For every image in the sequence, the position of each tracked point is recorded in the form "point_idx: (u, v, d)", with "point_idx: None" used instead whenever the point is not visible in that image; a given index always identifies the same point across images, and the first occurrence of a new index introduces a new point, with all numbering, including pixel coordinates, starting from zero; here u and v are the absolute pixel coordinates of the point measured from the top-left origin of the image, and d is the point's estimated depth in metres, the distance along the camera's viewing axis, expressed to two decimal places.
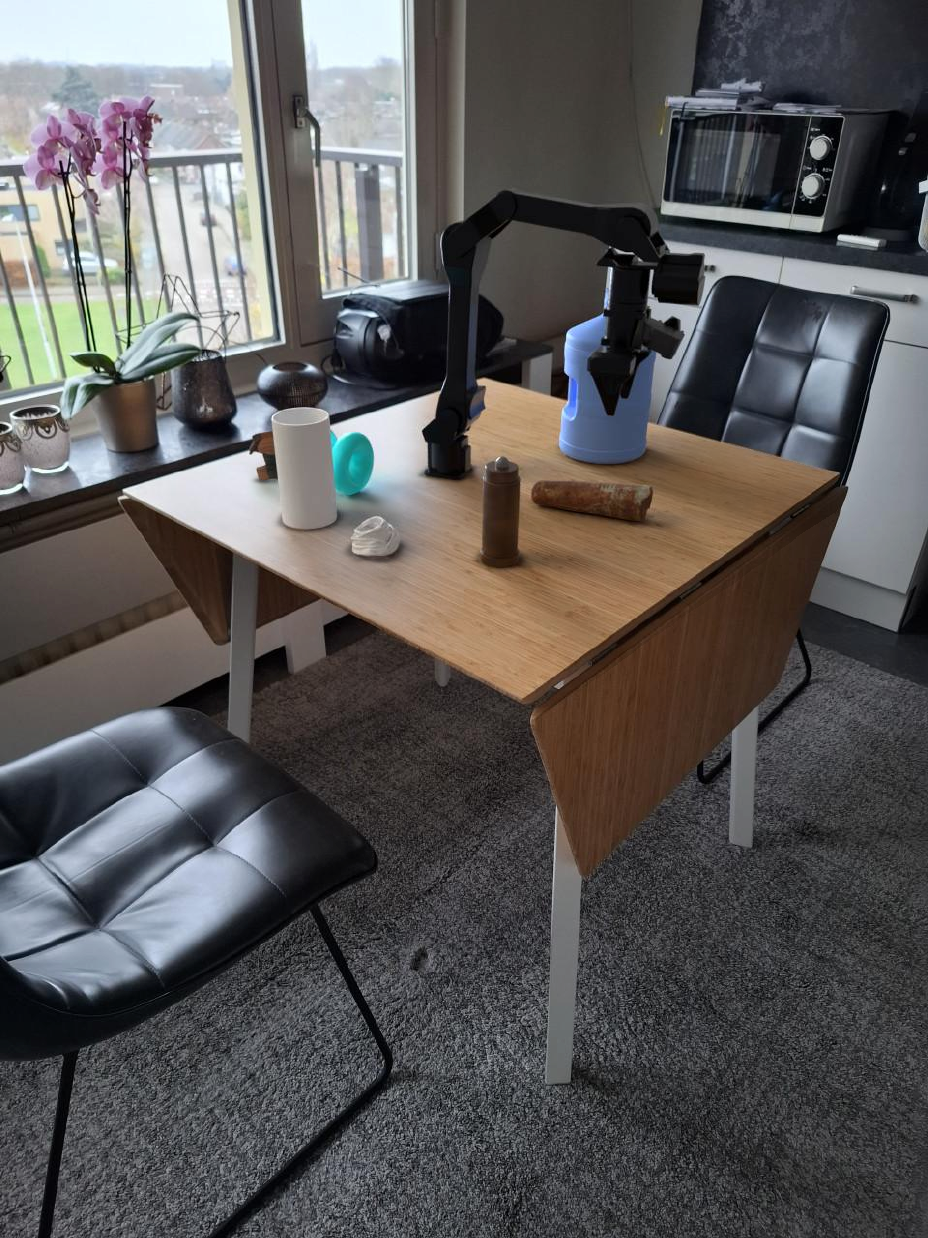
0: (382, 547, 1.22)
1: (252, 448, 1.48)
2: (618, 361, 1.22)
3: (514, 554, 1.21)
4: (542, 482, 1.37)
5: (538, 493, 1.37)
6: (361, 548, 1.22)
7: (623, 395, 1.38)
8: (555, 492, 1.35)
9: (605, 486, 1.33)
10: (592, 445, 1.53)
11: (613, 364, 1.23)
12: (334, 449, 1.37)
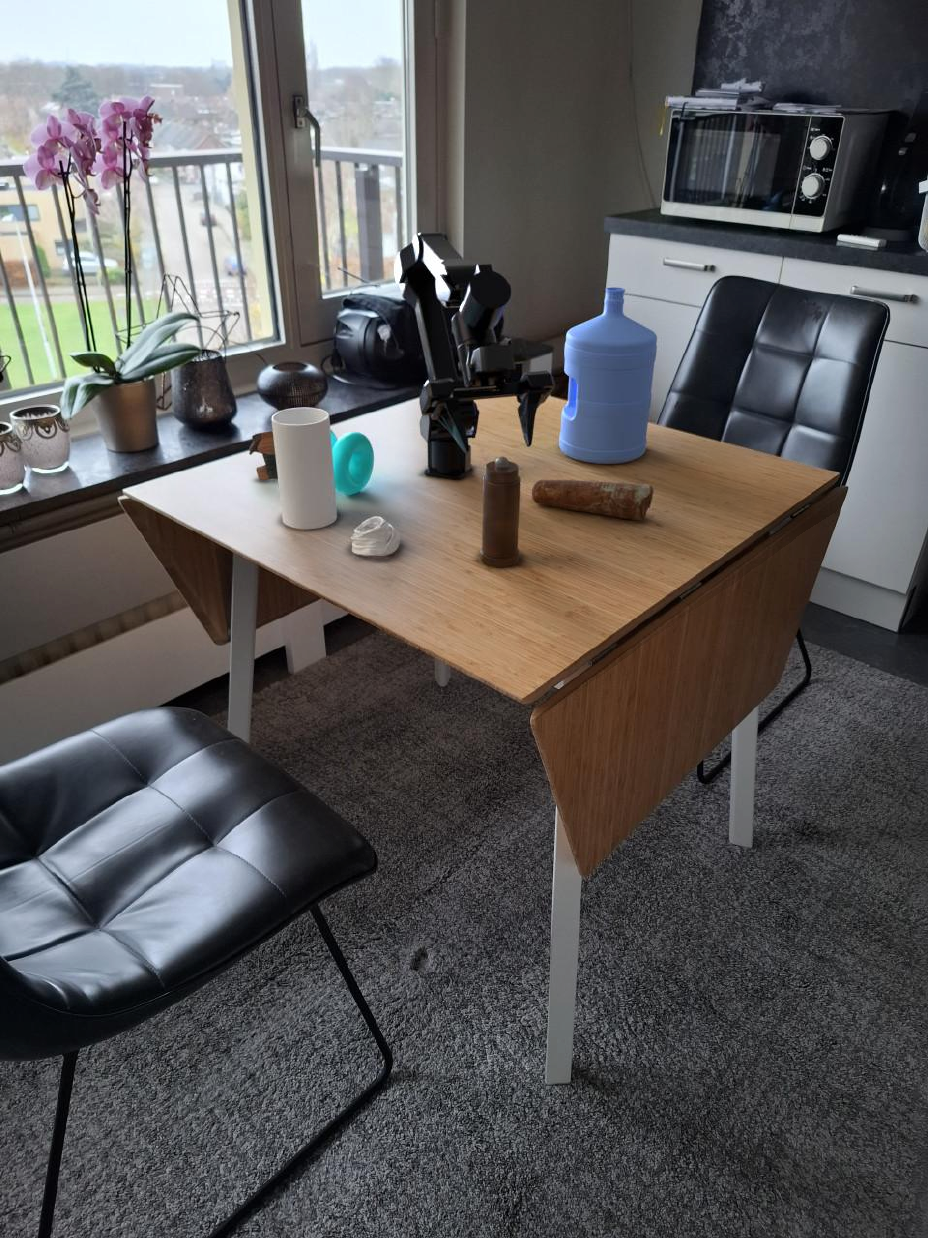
0: (382, 547, 1.22)
1: (252, 448, 1.48)
2: (423, 388, 1.21)
3: (514, 554, 1.21)
4: (543, 481, 1.38)
5: (538, 492, 1.37)
6: (361, 548, 1.22)
7: (527, 443, 1.25)
8: (556, 491, 1.36)
9: (606, 485, 1.33)
10: (592, 444, 1.53)
11: (423, 394, 1.22)
12: (334, 449, 1.37)
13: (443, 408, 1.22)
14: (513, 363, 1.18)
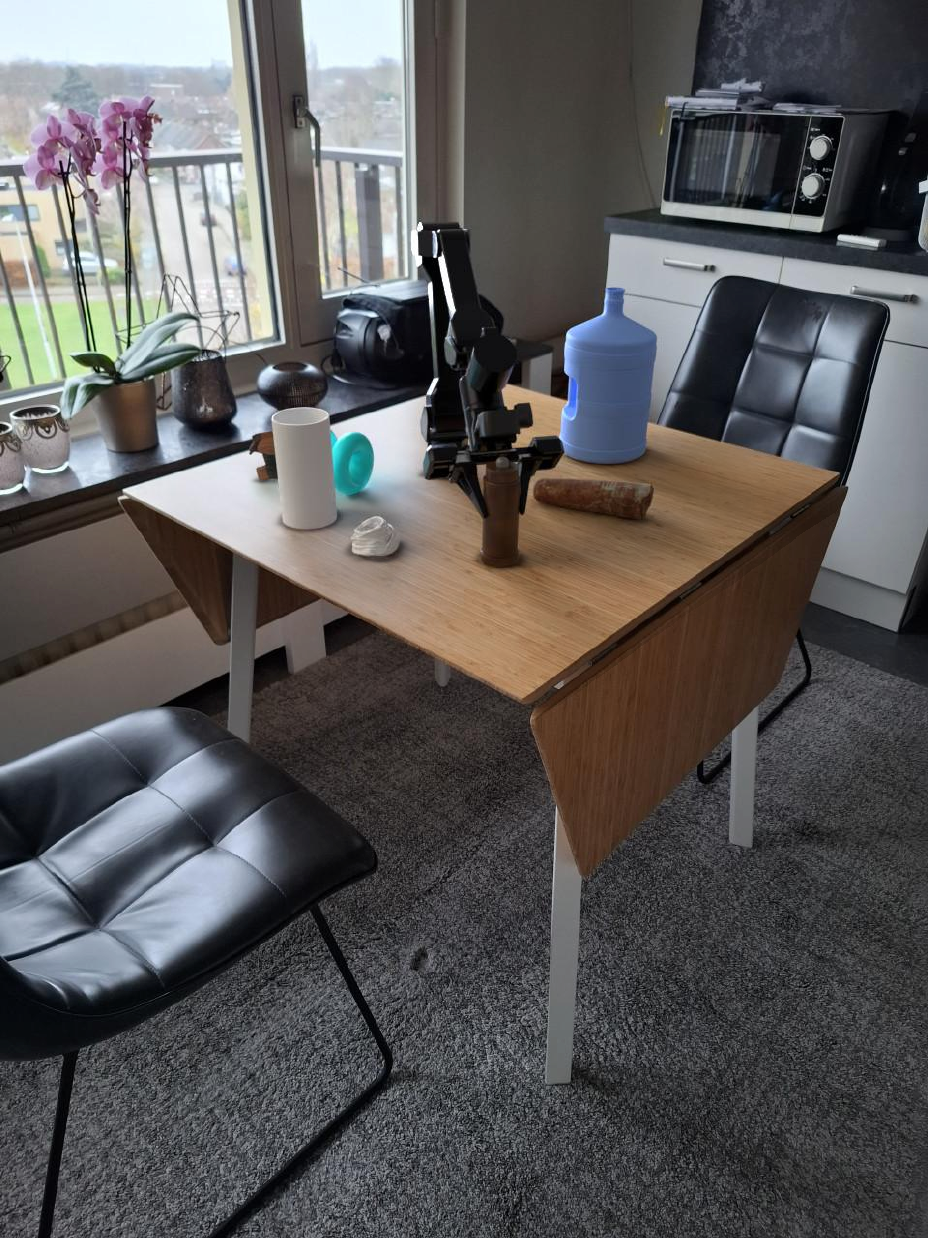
0: (382, 547, 1.22)
1: (252, 448, 1.48)
2: (426, 453, 1.17)
3: (514, 554, 1.21)
4: (544, 480, 1.38)
5: (539, 490, 1.38)
6: (361, 548, 1.22)
7: (520, 511, 1.19)
8: (557, 490, 1.36)
9: (606, 484, 1.34)
10: (592, 444, 1.53)
11: (426, 459, 1.18)
12: (334, 449, 1.37)
13: (460, 472, 1.18)
14: (518, 428, 1.14)
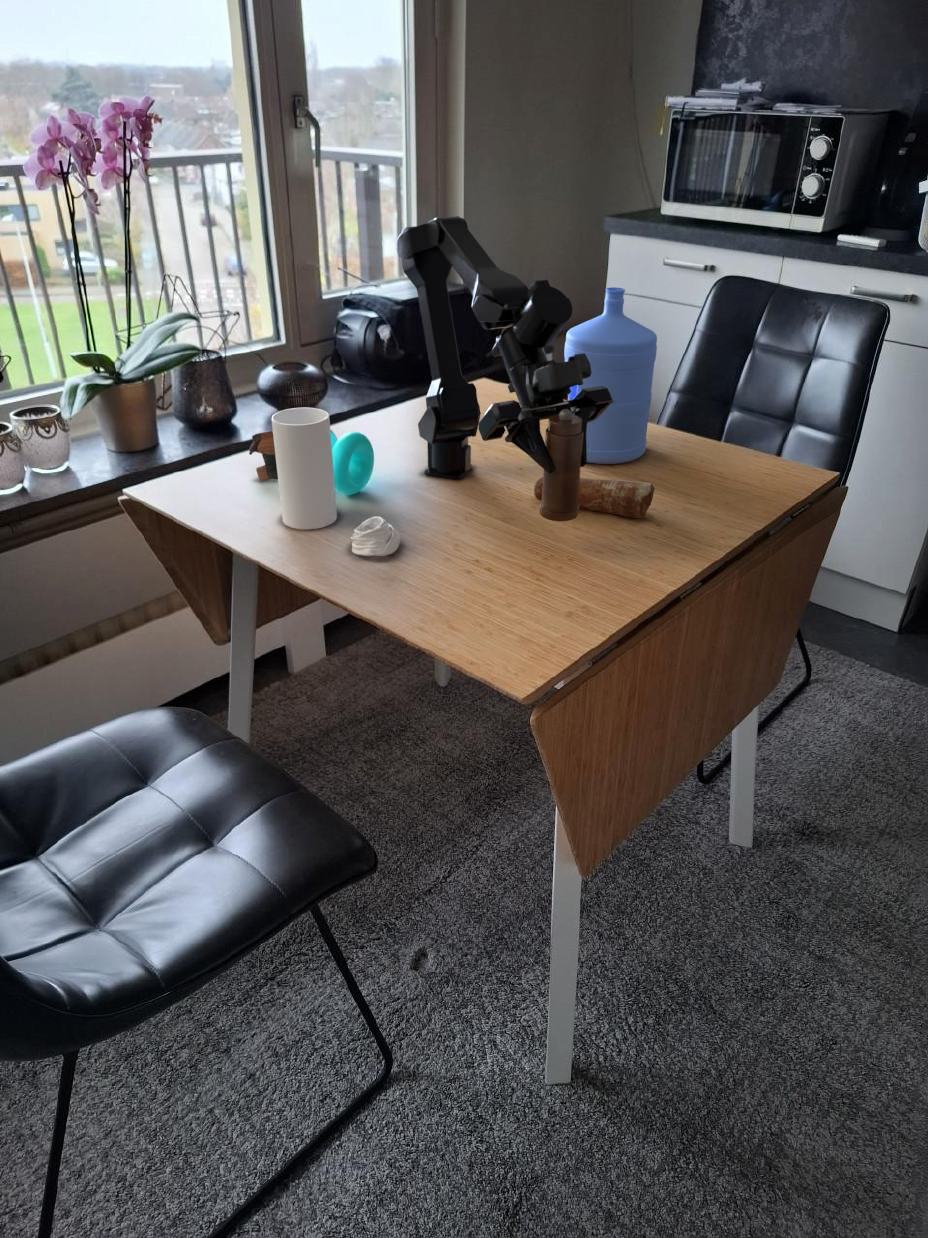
0: (382, 547, 1.22)
1: (252, 448, 1.48)
2: (488, 412, 1.15)
3: (576, 507, 1.22)
4: None
5: (540, 489, 1.38)
6: (361, 548, 1.22)
7: (581, 463, 1.20)
8: None
9: (607, 483, 1.34)
10: (592, 444, 1.53)
11: (488, 418, 1.15)
12: (334, 449, 1.37)
13: (522, 429, 1.17)
14: (581, 379, 1.14)
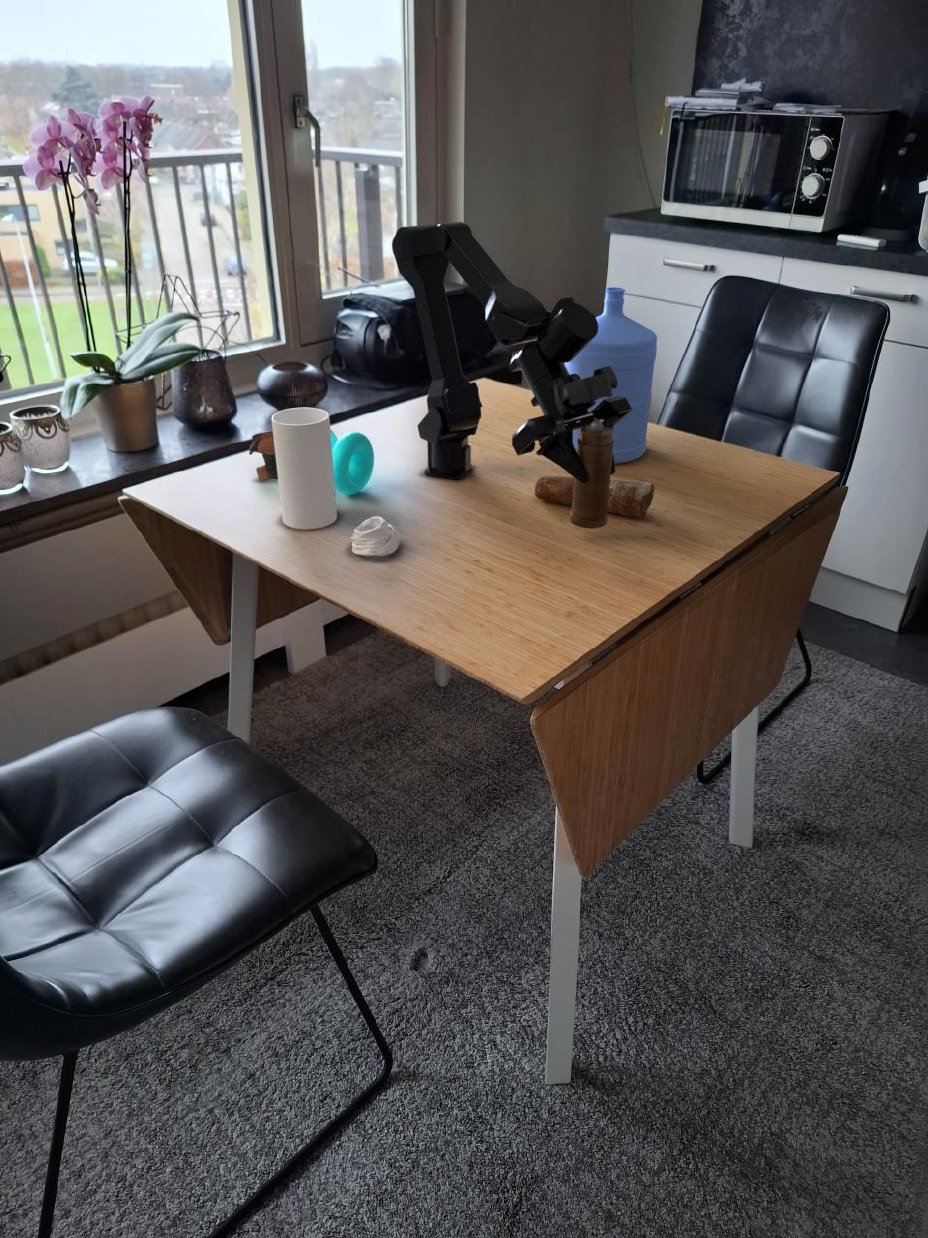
0: (382, 547, 1.22)
1: (252, 448, 1.48)
2: (525, 428, 1.18)
3: (606, 513, 1.26)
4: (545, 478, 1.39)
5: (541, 488, 1.38)
6: (361, 548, 1.22)
7: None
8: (558, 488, 1.37)
9: None
10: None
11: (524, 433, 1.18)
12: (334, 449, 1.37)
13: (555, 442, 1.20)
14: (611, 391, 1.19)
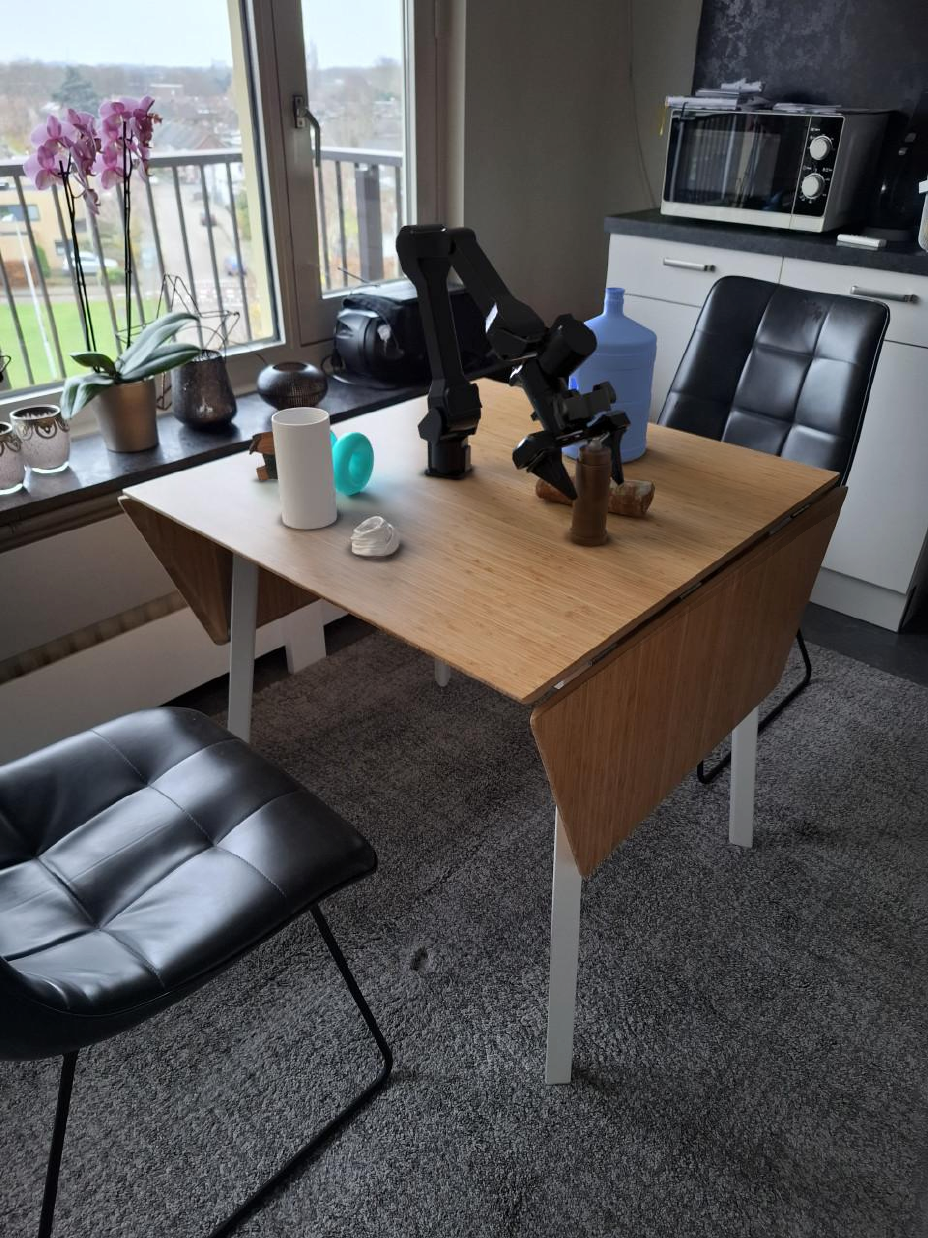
0: (382, 547, 1.22)
1: (252, 448, 1.48)
2: (525, 443, 1.19)
3: (605, 531, 1.28)
4: None
5: (541, 487, 1.39)
6: (361, 548, 1.22)
7: (618, 481, 1.26)
8: None
9: None
10: None
11: (524, 448, 1.19)
12: (334, 449, 1.37)
13: (544, 460, 1.20)
14: (610, 406, 1.20)
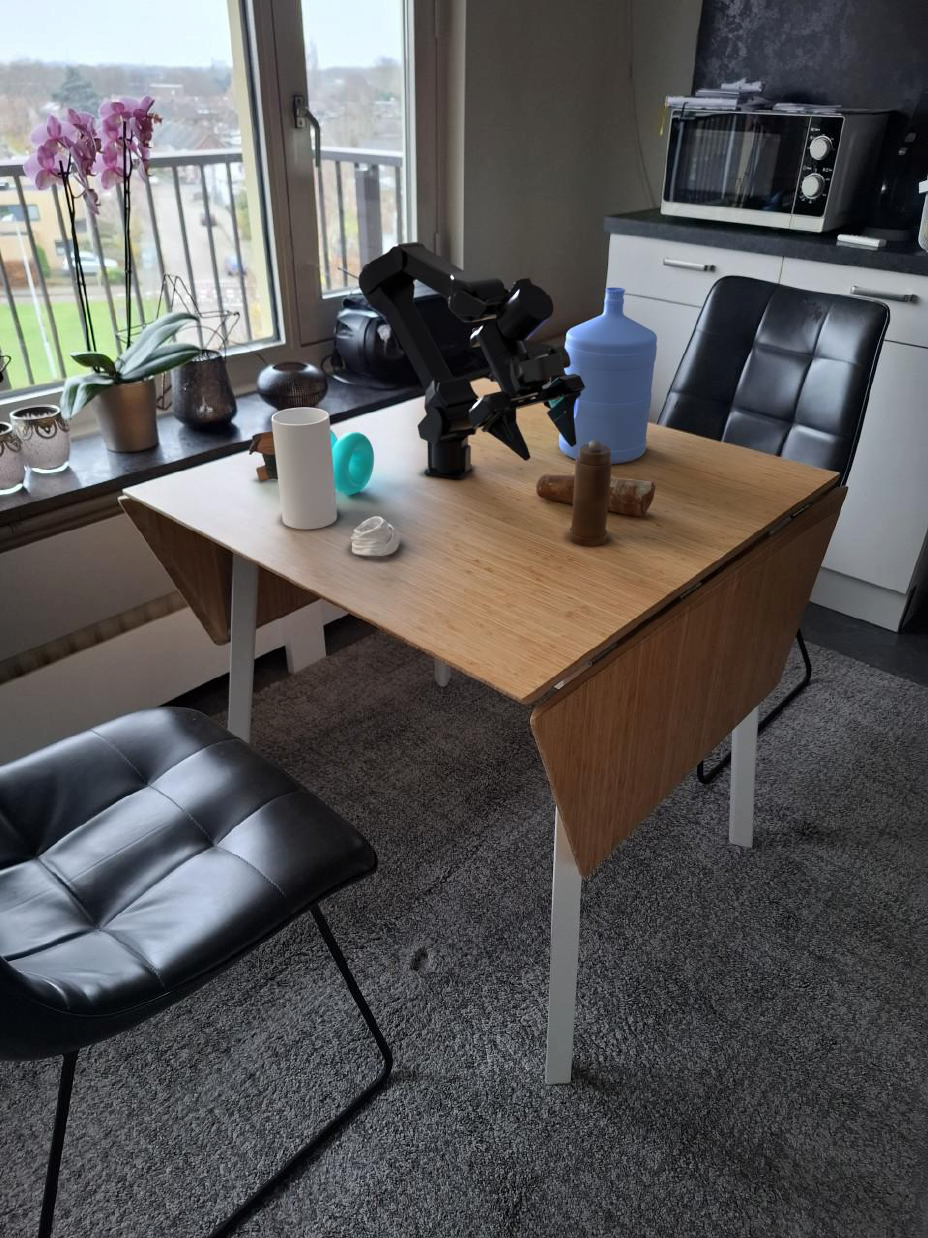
0: (382, 547, 1.22)
1: (252, 448, 1.48)
2: (481, 403, 1.24)
3: (605, 531, 1.28)
4: (547, 476, 1.40)
5: (542, 486, 1.39)
6: (361, 548, 1.22)
7: (570, 443, 1.32)
8: (559, 486, 1.38)
9: None
10: None
11: (480, 408, 1.24)
12: (334, 449, 1.37)
13: (499, 420, 1.26)
14: (564, 370, 1.25)
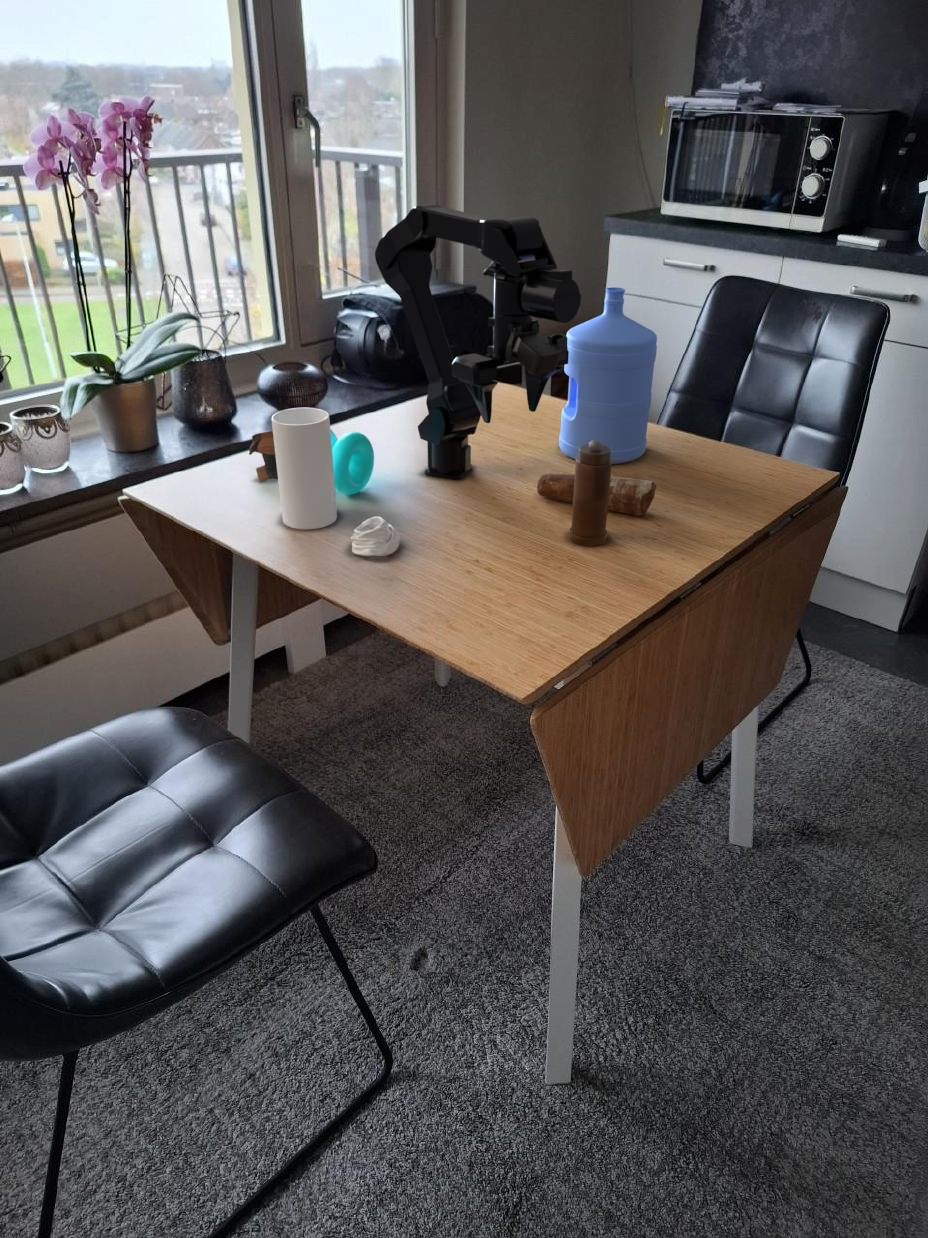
0: (382, 547, 1.22)
1: (252, 448, 1.48)
2: (468, 368, 1.25)
3: (605, 531, 1.28)
4: (548, 475, 1.40)
5: (543, 485, 1.39)
6: (361, 548, 1.22)
7: (530, 408, 1.38)
8: (560, 485, 1.38)
9: None
10: None
11: (466, 371, 1.26)
12: (334, 449, 1.37)
13: None
14: (555, 366, 1.27)
